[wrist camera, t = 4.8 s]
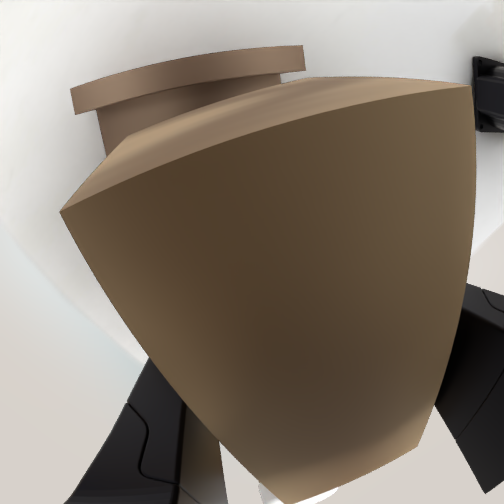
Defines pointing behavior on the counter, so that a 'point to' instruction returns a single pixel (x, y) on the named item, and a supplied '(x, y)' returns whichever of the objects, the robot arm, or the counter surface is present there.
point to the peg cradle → (180, 87)
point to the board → (294, 265)
